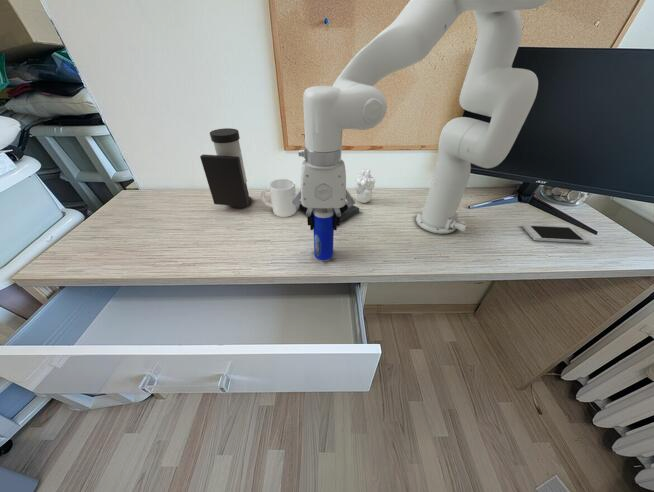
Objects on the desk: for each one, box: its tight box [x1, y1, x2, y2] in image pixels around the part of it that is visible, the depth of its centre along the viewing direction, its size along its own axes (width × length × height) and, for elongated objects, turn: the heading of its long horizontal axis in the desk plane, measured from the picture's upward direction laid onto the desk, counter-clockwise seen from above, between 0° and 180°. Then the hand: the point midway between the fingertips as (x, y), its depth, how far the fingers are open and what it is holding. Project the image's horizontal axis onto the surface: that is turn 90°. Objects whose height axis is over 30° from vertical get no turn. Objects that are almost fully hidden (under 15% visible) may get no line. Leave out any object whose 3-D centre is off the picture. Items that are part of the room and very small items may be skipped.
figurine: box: [354, 168, 376, 204], centre depth 92 cm, size 7×7×12 cm
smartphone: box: [522, 224, 590, 244], centre depth 79 cm, size 7×16×1 cm, turn 86°
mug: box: [260, 178, 298, 218], centre depth 87 cm, size 12×8×10 cm
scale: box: [297, 204, 360, 224], centre depth 89 cm, size 16×14×4 cm
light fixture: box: [199, 127, 253, 210], centre depth 85 cm, size 12×11×25 cm
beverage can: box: [313, 208, 335, 262], centre depth 66 cm, size 5×5×15 cm
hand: (323, 226), depth 65 cm, fingers closed on beverage can, 5 cm apart
